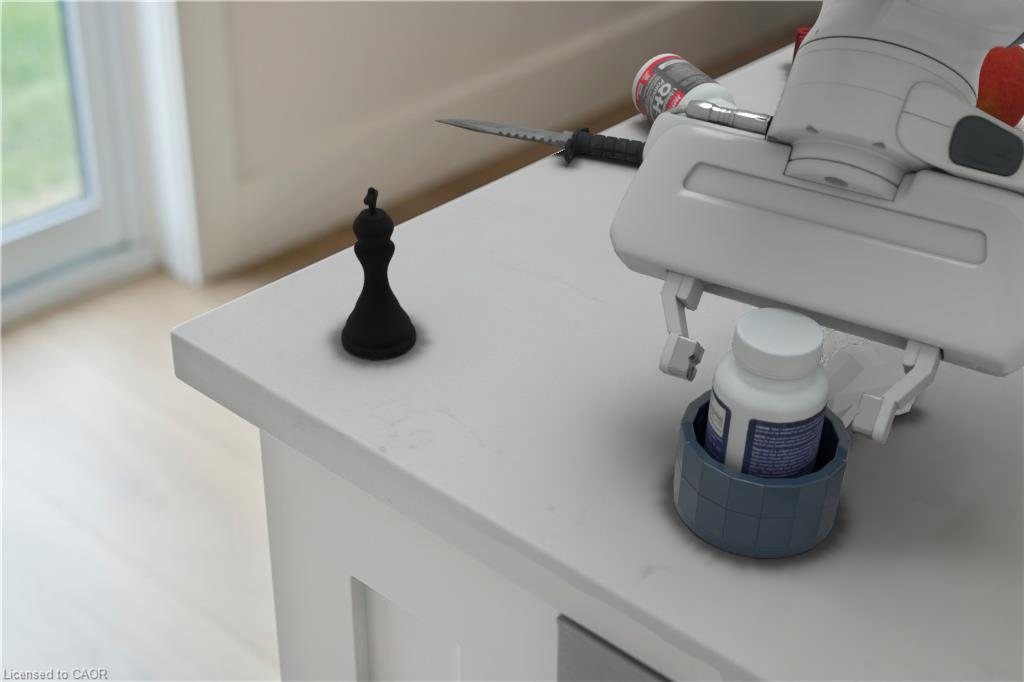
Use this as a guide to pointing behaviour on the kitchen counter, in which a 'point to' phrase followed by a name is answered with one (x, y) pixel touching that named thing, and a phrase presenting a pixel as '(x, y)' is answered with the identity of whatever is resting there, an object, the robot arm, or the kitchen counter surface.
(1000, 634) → the kitchen counter surface
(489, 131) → the knife
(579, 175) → the kitchen counter surface
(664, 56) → the pill bottle
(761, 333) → the pill bottle
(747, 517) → the bowl
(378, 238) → the chess piece
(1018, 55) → the apple
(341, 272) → the kitchen counter surface
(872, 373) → the white low-poly animal
